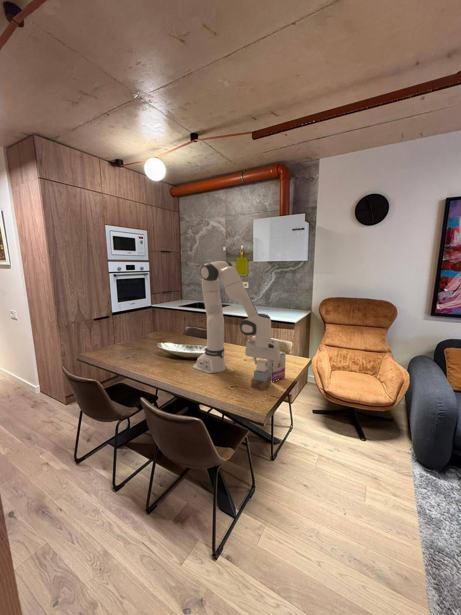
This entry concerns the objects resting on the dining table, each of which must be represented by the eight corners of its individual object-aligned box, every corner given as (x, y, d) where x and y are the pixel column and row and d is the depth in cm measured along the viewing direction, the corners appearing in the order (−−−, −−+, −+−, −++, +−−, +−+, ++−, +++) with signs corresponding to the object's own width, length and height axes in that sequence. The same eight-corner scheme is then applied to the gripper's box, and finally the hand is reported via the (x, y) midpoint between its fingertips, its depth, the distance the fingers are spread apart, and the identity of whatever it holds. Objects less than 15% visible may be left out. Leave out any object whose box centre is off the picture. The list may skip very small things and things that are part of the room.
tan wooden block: (250, 387, 148) (251, 379, 147) (256, 381, 156) (256, 373, 155) (265, 391, 144) (266, 382, 143) (270, 384, 152) (271, 376, 151)
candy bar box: (279, 375, 164) (280, 350, 161) (285, 378, 160) (286, 352, 157) (266, 379, 157) (267, 354, 154) (272, 382, 153) (273, 356, 150)
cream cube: (256, 370, 147) (256, 361, 146) (259, 367, 152) (259, 359, 151) (264, 371, 145) (264, 363, 144) (267, 368, 150) (267, 360, 149)
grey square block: (253, 379, 147) (253, 371, 146) (257, 374, 153) (257, 367, 153) (265, 381, 144) (265, 374, 144) (268, 376, 151) (269, 369, 150)
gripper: (243, 341, 147) (243, 364, 150) (278, 346, 138) (277, 370, 141) (247, 338, 153) (247, 360, 155) (281, 343, 144) (280, 366, 146)
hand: (262, 365), depth 148 cm, fingers open, 5 cm apart
